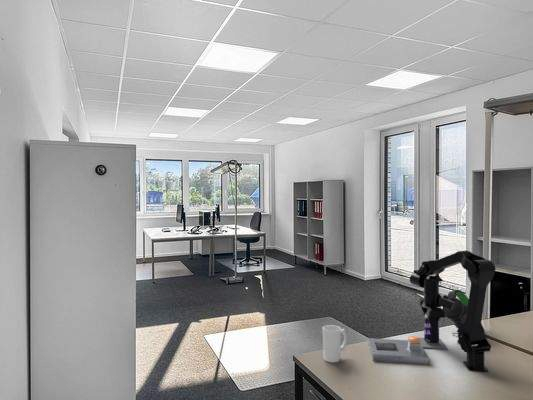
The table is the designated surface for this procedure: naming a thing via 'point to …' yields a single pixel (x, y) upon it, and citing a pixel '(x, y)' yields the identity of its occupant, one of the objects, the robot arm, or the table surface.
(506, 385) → the table surface
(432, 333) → the beverage can
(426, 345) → the pad
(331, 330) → the mug
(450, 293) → the headset
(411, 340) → the peach dome cap
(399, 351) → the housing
